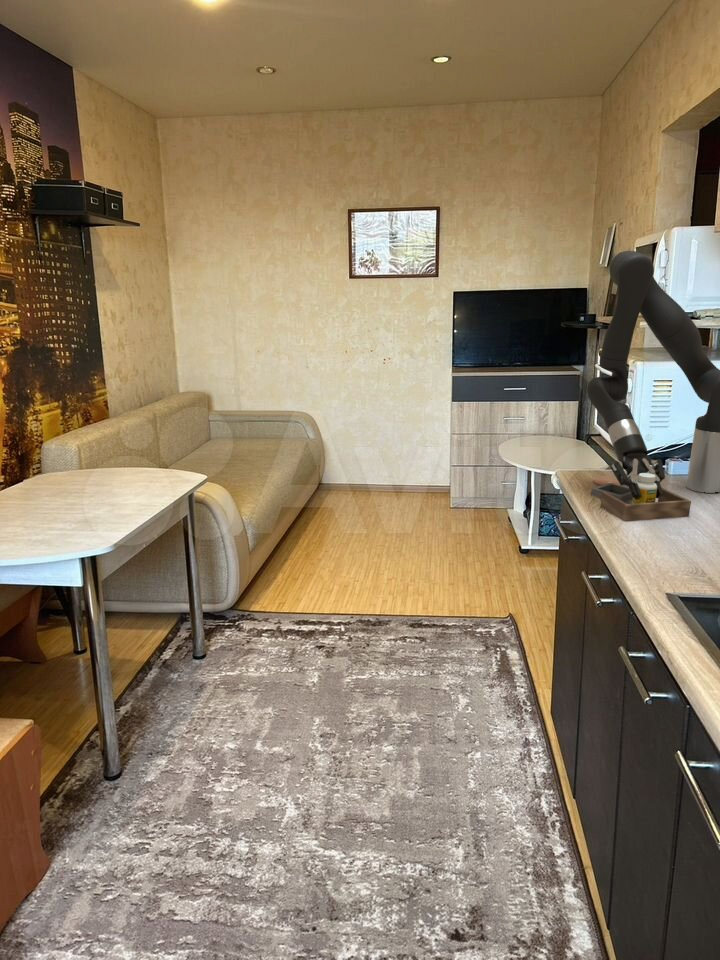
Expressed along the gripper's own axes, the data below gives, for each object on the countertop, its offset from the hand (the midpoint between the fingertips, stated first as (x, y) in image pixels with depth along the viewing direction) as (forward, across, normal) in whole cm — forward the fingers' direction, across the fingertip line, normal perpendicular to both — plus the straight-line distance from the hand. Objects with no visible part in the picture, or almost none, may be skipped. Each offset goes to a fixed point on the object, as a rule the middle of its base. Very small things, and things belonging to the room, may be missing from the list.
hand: (649, 497), depth 171 cm
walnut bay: (+2, 0, +4) cm, 5 cm away
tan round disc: (-15, +6, +21) cm, 26 cm away
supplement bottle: (+2, 0, +4) cm, 5 cm away
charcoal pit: (-7, 0, +13) cm, 15 cm away
